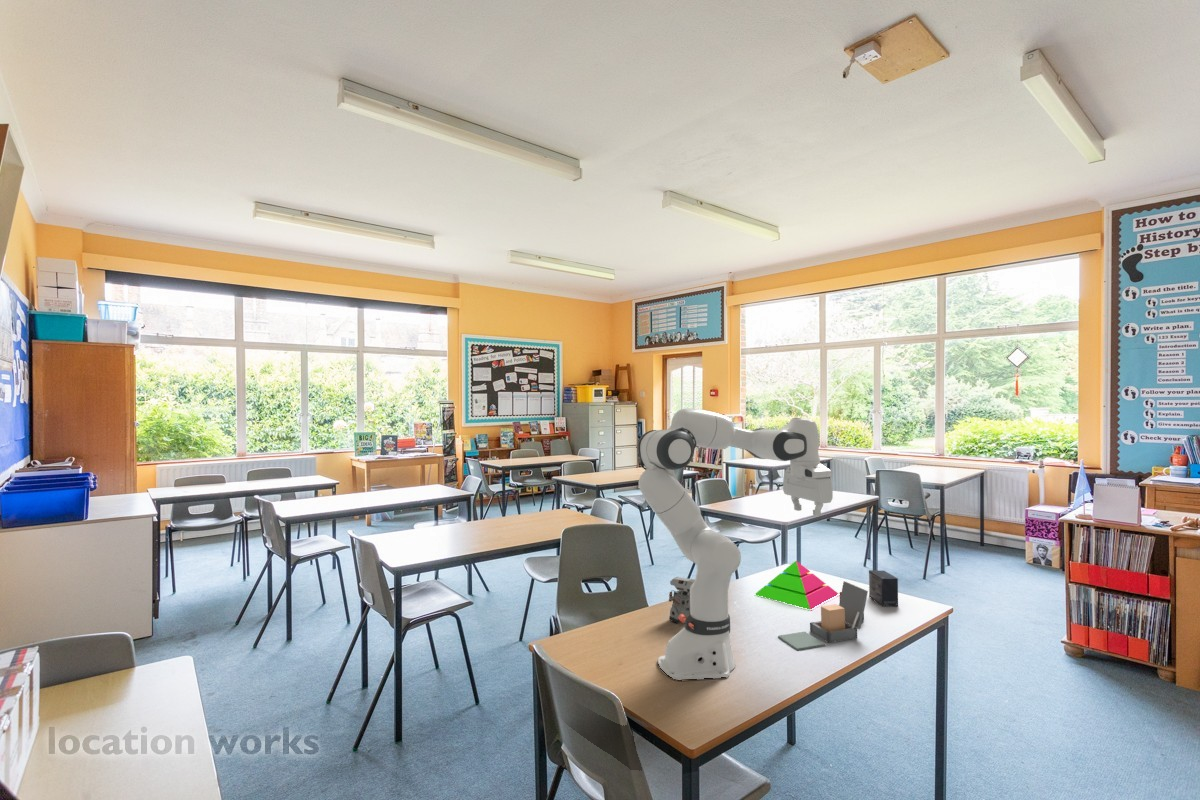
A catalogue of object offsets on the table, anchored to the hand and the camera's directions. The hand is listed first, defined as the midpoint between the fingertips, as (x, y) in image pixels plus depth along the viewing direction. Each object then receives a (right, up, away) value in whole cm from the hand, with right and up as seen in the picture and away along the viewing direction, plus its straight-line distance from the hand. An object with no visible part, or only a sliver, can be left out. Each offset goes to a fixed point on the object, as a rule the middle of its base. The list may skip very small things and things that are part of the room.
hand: (807, 513), depth 174 cm
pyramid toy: (+12, -42, +44) cm, 62 cm away
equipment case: (+13, -41, +7) cm, 44 cm away
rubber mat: (-1, -41, +2) cm, 41 cm away
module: (+11, -41, +6) cm, 43 cm away
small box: (+42, -41, +35) cm, 68 cm away
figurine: (-35, -42, +20) cm, 58 cm away
